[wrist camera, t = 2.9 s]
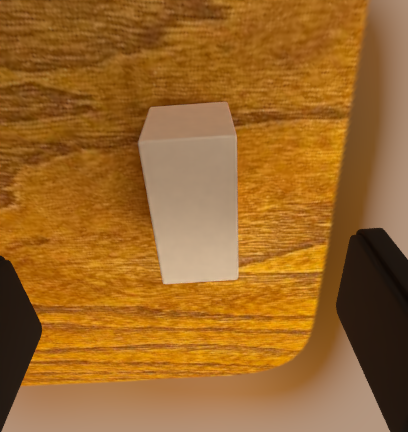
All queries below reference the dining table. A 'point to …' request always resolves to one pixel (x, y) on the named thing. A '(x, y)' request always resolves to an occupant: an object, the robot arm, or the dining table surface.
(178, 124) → the eraser
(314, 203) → the dining table surface
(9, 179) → the dining table surface
